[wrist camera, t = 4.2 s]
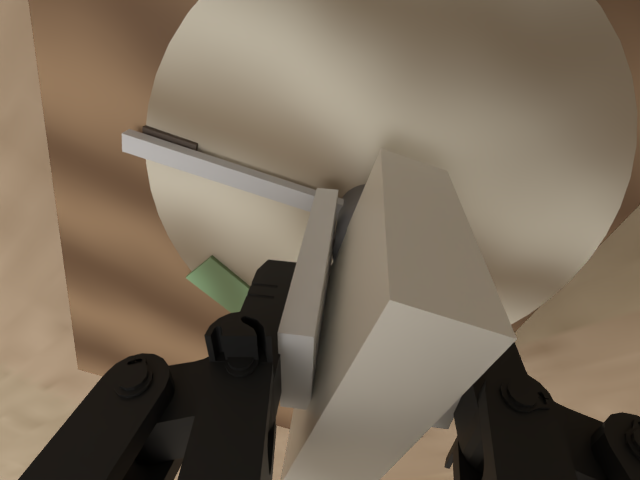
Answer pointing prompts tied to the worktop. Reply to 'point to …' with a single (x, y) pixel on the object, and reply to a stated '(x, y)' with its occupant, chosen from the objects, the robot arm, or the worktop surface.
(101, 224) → the tuner board
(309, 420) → the beige block with bar
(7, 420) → the worktop surface
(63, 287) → the worktop surface
